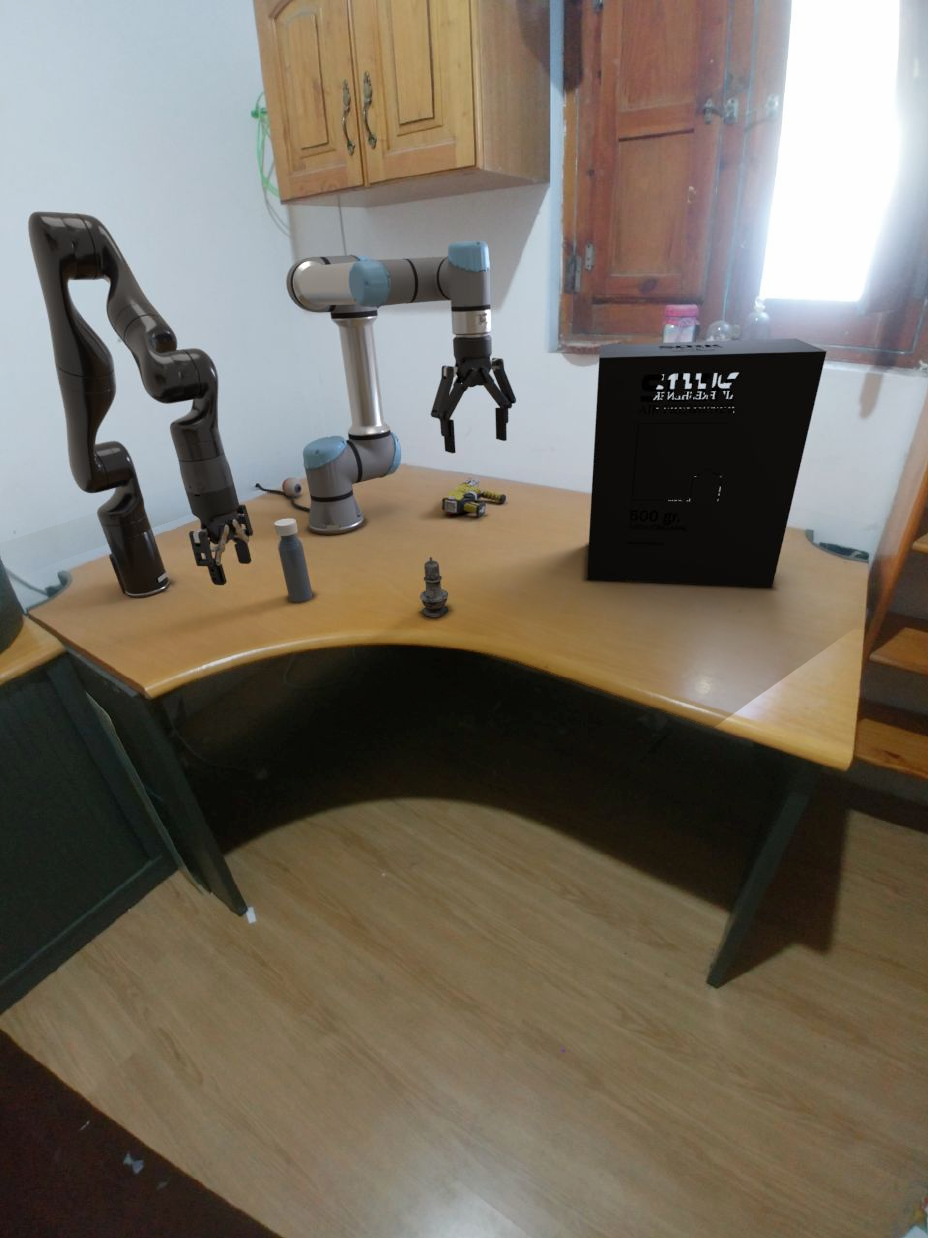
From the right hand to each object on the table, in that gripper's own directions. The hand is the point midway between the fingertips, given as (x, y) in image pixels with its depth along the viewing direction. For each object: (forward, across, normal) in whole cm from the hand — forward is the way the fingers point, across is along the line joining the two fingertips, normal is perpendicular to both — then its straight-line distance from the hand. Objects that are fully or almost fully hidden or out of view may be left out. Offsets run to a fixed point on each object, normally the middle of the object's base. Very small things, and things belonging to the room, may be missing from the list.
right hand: (476, 445), depth 127 cm
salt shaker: (+28, -20, -11) cm, 36 cm away
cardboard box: (+28, +33, -29) cm, 52 cm away
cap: (+11, -39, +14) cm, 43 cm away
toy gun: (+28, +26, +34) cm, 51 cm away
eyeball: (+28, -12, +82) cm, 88 cm away
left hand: (+12, -55, 0) cm, 56 cm away
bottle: (+28, -39, +14) cm, 50 cm away
